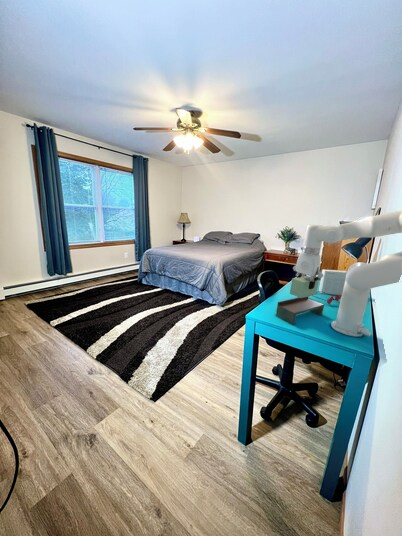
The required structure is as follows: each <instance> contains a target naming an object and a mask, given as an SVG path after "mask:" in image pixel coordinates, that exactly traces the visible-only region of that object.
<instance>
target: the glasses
mask: <svg viewBox="0 0 402 536" xmlns="http://www.w3.org/2000/svg"><path fill="white" fill-rule="evenodd" d="M320 292H322V291H319V290H318V291H317V292H316V294H318V293H320ZM323 293H325V292H323ZM325 295H329V297H328V298H327V299H324V298H322V297H321V298H320V297H318V296H316V295H312V296H311V297H314V298H317V299H318V300H319V299H320V300H322V301H325V302H326V303H327V304H328V305H331V303H332V302H333V301H335V302H340V300H341V295H334V294H328V293H326V294H325Z"/></svg>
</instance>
